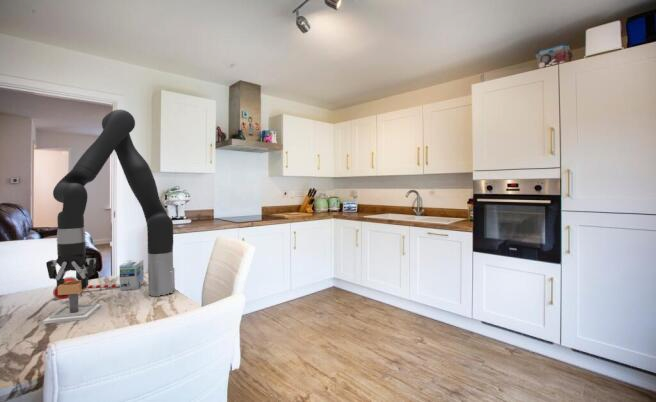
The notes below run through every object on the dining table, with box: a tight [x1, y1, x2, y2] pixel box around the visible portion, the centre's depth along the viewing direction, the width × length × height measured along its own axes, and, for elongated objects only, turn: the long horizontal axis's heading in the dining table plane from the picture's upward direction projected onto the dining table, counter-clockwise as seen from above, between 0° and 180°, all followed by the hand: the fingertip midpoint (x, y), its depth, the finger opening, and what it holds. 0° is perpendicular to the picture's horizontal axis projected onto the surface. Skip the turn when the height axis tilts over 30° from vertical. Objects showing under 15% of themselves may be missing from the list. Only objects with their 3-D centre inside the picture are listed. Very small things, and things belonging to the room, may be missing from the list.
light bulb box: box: [119, 259, 145, 291], centre depth 139 cm, size 11×7×11 cm, turn 16°
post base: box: [42, 294, 102, 325], centre depth 108 cm, size 12×12×8 cm
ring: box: [58, 279, 87, 295], centre depth 108 cm, size 6×6×3 cm
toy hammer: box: [52, 276, 120, 300], centre depth 133 cm, size 23×12×6 cm, turn 119°
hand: (72, 289), depth 108 cm, fingers closed on ring, 6 cm apart
